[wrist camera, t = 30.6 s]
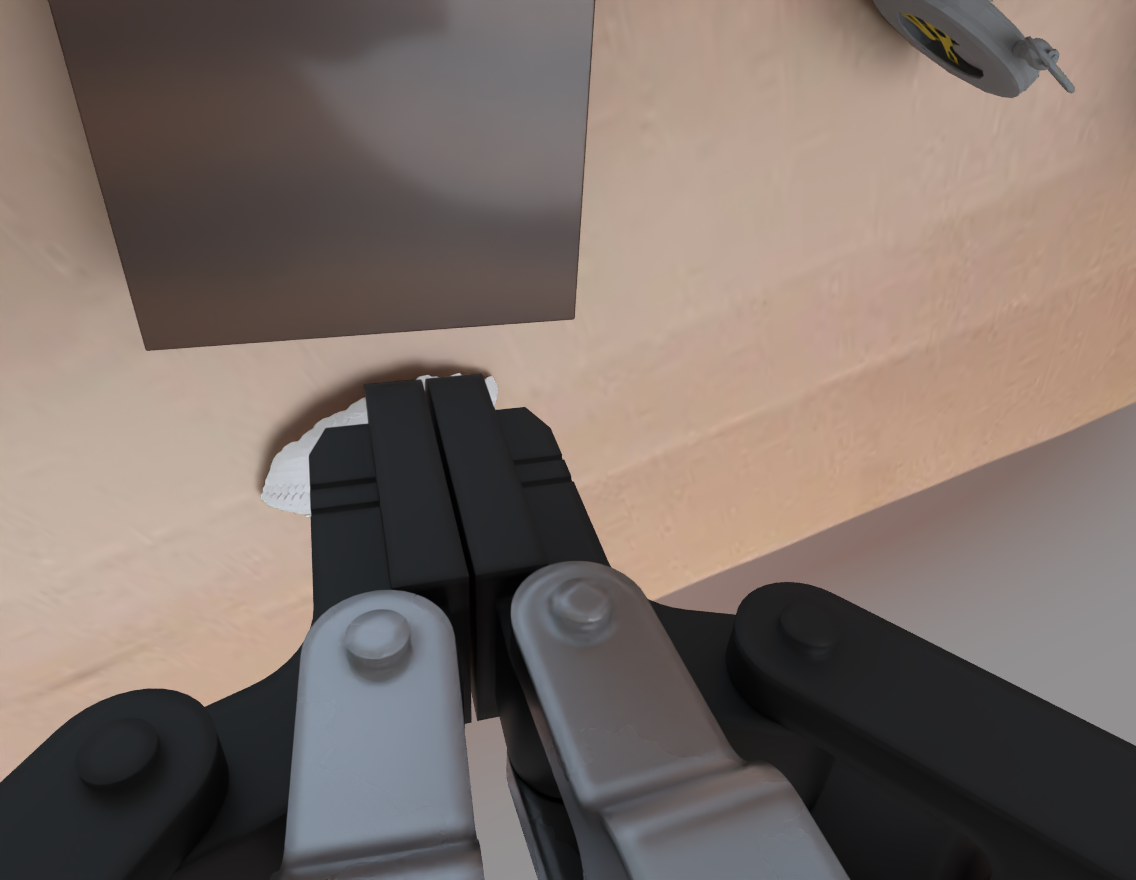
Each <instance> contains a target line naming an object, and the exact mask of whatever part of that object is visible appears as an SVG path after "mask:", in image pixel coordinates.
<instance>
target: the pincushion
mask: <svg viewBox="0 0 1136 880" xmlns="http://www.w3.org/2000/svg"><path fill="white" fill-rule="evenodd" d="M459 375H461V374H460V373H457V374H454V375H451V376H459ZM426 378H437V376H435V377H431V376H430V375H425V376H420V377H418V378H417V379H416V380H418V379H421V380H422V382H423V386H424V390H425V379H426ZM484 380H485V382H486V385H487V388H488V391H489V394H490V397H491V399H492V402H493V405H494V406H495V401H496V399H497V396H498V385H497V384H496V382H494V379H493V377H492V376H490V377H487V378H486V379H485V378H484ZM358 424H368V418H367V409H366V399H365V397H364V398H362V399H360V400H359V401H357V402H355V403H353V404H351V405H350V407H349V408H348V409H347V410H345V411H340V412H338V413H335V414H333V415H332V416H330V417H327V418H323V419H322V420H320V421H319V422H317V423H316V424H315V426H314V427H313V429H311V430H309V431H308V432H306V433H305V434H304V435H303V436H302V437H301V439H300V440H299V441H297V442H291V443H289V444H288V445H286V446H285V447H283V449H282V451H281V452H279V453H277V454H276V456H275V457H274V459H273V461H272V465H271V467H270V469H271V470H270V472H269V474H268V476H267V478H266V480H265V483H266V484H265V486H264V488H263V489H262V490H263V493H262V495H261V496H260V498H261V499H262V500H263V501H266V504H267V505H268V506H269V507H273V508H277V509H281V510H282V511H287V512H293V513H295V514H308V515H305V517H311V509H310V478H309V454H310V452H311V451H312V449H313V447H314V446H315V444H316V443H317V441H318V439H319V438H320V436H321V434H322V433H323V431H324V430H325V428H329V427H339V426H348V425H358Z"/></svg>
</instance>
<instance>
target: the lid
mask: <svg viewBox="0 0 1136 880" xmlns="http://www.w3.org/2000/svg"><path fill="white" fill-rule="evenodd" d="M48 2H49V6H50V9H51V13H52V16H53V20H54V24H55V27H56V31H57V34H58V38H59V41H60V45H61V49H62V52H63V56H64V59H65V63H66V67H67V70H68V74H69V77H70V81H71V84H72V88H73V92H74V95H75V99H76V102H77V106H78V110H79V113H80V117H81V120H82V124H83V127H84V131H85V135H86V138H87V142H88V145H89V149H90V152H91V156H92V160H93V163H94V167H95V170H96V174H97V178H98V181H99V185H100V188H101V192H102V195H103V199H104V203H105V206H106V210H107V213H108V217H109V220H110V224H111V228H112V231H113V235H114V238H115V242H116V246H117V249H118V253H119V256H120V260H121V263H122V267H123V271H124V274H125V278H126V281H127V285H128V289H129V292H130V296H131V299H132V303H133V306H134V310H135V314H136V317H137V321H138V324H139V328H140V331H141V335H142V339H143V342H144V346H145V349H146V350H147V351H150V350H164V349H178V348H191V347H205V346H218V345H232V344H245V343H259V342H273V341H286V340H300V339H313V338H327V337H341V336H354V335H368V334H381V333H395V332H409V331H422V330H436V329H449V328H463V327H477V326H490V325H504V324H517V323H531V322H544V321H558V320H572V319H574V318H575V304H576V289H577V273H578V258H579V242H580V227H581V212H582V196H583V181H584V165H585V150H586V134H587V119H588V104H589V88H590V73H591V57H592V42H593V27H594V11H595V0H48Z"/></svg>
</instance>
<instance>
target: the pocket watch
mask: <svg viewBox="0 0 1136 880" xmlns="http://www.w3.org/2000/svg"><path fill="white" fill-rule="evenodd" d="M873 1H874V3H875V5H876V7H877V8H878V10H879V11H880V13H881V14H882V15H883V17H884V18H885V19H886V20H887V21H888V22H889V23H890V24H891V25H892V26H893V27H894V28H895V29H896V30H897V31H898V32H899V33H900V34H901V35H902V36H903V37H904V38H905V39H906V40H907V41H908V42H909V43H910V44H911V45H912V46H913V47H915V48H916V49H917V50H919V51H920V52H922V53H923V54H924V55H926V56H927V57H928V58H930V59H931V60H933V61H934V62H935V63H937V64H938V65H939V66H941V67H942V68H944V69H945V70H946V71H948V72H949V73H951V74H953V75H955V76H956V77H958V78H960V79H962V80H964V81H966V82H968V83H969V84H971V85H973V86H975V87H977V88H979V89H981V90H983V91H984V92H987V93H990V94H994V95H997V96H1001V97H1008V98H1013V97H1017V96H1018V95H1019V94H1020V93H1021V92H1023V91H1025V90H1026V89H1027V88H1028V87H1029V86H1030V85H1031V84H1032V83H1033V82H1034V81H1035V80H1036V79H1037V78H1038V77H1039V70H1046V69H1048V71H1049V72H1050V73H1051V74H1052V75H1053V76H1054V77H1055V79H1056V80H1057V81H1058V82H1059V83H1060V84H1061V85H1062V87H1063V88H1064V89H1065V90H1066V91H1067V92H1069V93H1073V92H1075V87H1074V86H1073V84H1072V83H1071V81H1070V80H1069V79H1068V78H1067V76H1066V75H1065V74H1064V73H1063V72H1062V70H1061V69H1060V68H1059V67H1058V66H1057V65H1056V62H1057V61H1058V58H1059V52H1058V50H1056V49H1053V48H1052V47H1051V46H1050V45H1049V44H1048V42H1046V41H1045V40H1043V39H1040V38H1035V39H1032V38H1031V37H1030V36H1029V37H1026V38H1025V37H1024V35H1023V34H1022V33H1021V32H1020V31H1019V30H1018V28H1017V27H1016V26H1015V25H1014V24H1013V23H1012V22H1011V21H1010V20H1009V19H1008V18H1007V17H1006V16H1005V15H1004V14H1002V13H1001V12H1000V11H999V10H998V9H997V8H996V7H995V6H994V5H993V4H991V3H990V2H991V1H993V0H873Z"/></svg>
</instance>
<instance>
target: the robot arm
mask: <svg viewBox="0 0 1136 880" xmlns="http://www.w3.org/2000/svg"><path fill="white" fill-rule="evenodd" d="M364 389H365V399H366V409H367V418H368V424H358V425H348V426H339V427H329V428H325V430H324V431H323V433H322V434H321V436H320V438H319V439H318V441H317V443H316V444H315V446H314V447H313V449H312V451H311V452H310V454H309V478H310V509H311V541H312V572H313V603H314V610H313V620H312V624H311V627H310V630H309V632H308V633H307V635H306V638H305V640H304V642H303V643H302V645H301V646H300V648H299V649H298V651H297V652H296V653H295V654H294V655H293V656H292V657H291V658H290V659H289V660H288V661H287V662H286V663H285V664H284V665H283V666H282V667H280V668H279V669H278V670H277V671H275V672H274V673H272V674H271V675H269V676H268V677H266V678H265V679H263V680H261V681H259V682H258V683H256V684H254V685H252V686H250V687H248V688H245V689H243V690H241V691H239V692H237V693H234V694H232V695H230V696H228V697H226V698H223V699H221V700H219V701H217V702H214V703H212V704H210V705H208V706H206V707H204V706H203V705H202V704H201V703H200V702H199V701H197V700H196V699H194V698H192V697H191V696H189V695H187V694H184V693H181V692H178V691H174V690H167V689H142V690H134V691H129V692H126V693H122V694H118V695H115V696H112V697H110V698H107V699H104V700H102V701H100V702H98V703H96V704H94V705H92V706H90V707H88V708H86V709H84V710H83V711H81V712H80V713H78V714H77V715H75V716H74V717H72V718H71V719H70V720H68V721H67V722H66V723H65V724H64V725H62V726H61V727H60V728H59V729H58V730H56V731H55V732H54V733H53V734H52V735H51V736H50V737H49V738H48V739H47V740H46V741H45V742H44V743H42V744H41V745H40V746H39V747H38V748H37V749H36V750H35V751H34V752H33V753H32V754H31V755H30V756H28V757H27V758H26V759H25V760H24V761H23V762H22V763H21V764H20V765H19V766H18V767H17V768H16V769H14V770H13V771H12V772H11V773H10V774H9V775H8V776H7V777H6V778H5V779H4V780H3V781H2V782H0V880H484V871H483V863H482V856H481V850H480V844H479V841H478V839H477V836H476V831H475V823H474V814H473V805H472V796H471V786H470V776H469V767H468V757H467V748H466V738H465V724H466V723H471V693H472V698H473V702H474V707H475V712H476V717H477V721H479V720H484V719H489V718H494V717H499V716H500V720H501V725H502V729H503V733H504V737H505V742H506V746H507V766H506V771H507V781H508V786H509V789H510V792H511V795H512V799H513V802H514V805H515V808H516V811H517V815H518V818H519V820H520V824H521V827H522V831H523V834H524V837H525V840H526V843H527V846H528V850H529V852H530V856H531V859H532V862H533V865H534V869H535V872H536V875H537V878H538V880H1136V746H1135V745H1133V744H1131V743H1129V742H1127V741H1125V740H1123V739H1121V738H1119V737H1117V736H1115V735H1113V734H1111V733H1109V732H1107V731H1105V730H1103V729H1101V728H1099V727H1097V726H1095V725H1093V724H1091V723H1089V722H1087V721H1085V720H1083V719H1081V718H1079V717H1077V716H1075V715H1073V714H1071V713H1069V712H1067V711H1065V710H1063V709H1061V708H1059V707H1057V706H1055V705H1053V704H1051V703H1049V702H1048V701H1046V700H1043V699H1042V698H1040V697H1037V696H1036V695H1034V694H1032V693H1029V692H1028V691H1026V690H1023V689H1022V688H1020V687H1018V686H1016V685H1014V684H1012V683H1010V682H1008V681H1006V680H1004V679H1002V678H1000V677H998V676H996V675H994V674H992V673H990V672H988V671H986V670H984V669H982V668H980V667H978V666H976V665H974V664H972V663H970V662H968V661H966V660H964V659H962V658H960V657H958V656H956V655H954V654H952V653H950V652H948V651H946V650H944V649H942V648H940V647H938V646H936V645H934V644H932V643H930V642H928V641H926V640H925V639H923V638H920V637H919V636H917V635H915V634H913V633H911V632H908V631H907V630H905V629H903V628H901V627H899V626H897V625H895V624H893V623H891V622H889V621H887V620H885V619H883V618H881V617H879V616H877V615H875V614H873V613H871V612H869V611H867V610H865V609H863V608H861V607H859V606H857V605H855V604H853V603H851V602H849V601H847V600H845V599H843V598H841V597H839V596H837V595H835V594H833V593H831V592H829V591H826V590H824V589H822V588H818V587H815V586H812V585H808V584H802V583H794V582H780V583H773V584H769V585H765V586H762V587H760V588H757V589H756V590H754V591H752V592H751V593H749V594H748V595H747V596H746V597H745V598H744V599H743V600H742V602H741V604H740V605H739V607H738V610H737V613H736V615H733V614H723V613H714V612H703V611H694V610H685V609H679V608H672V607H669V606H665V605H661V604H659V603H656V602H654V601H651V600H649V599H647V597H646V596H645V594H644V593H643V591H642V590H641V589H640V587H639V586H638V585H637V584H636V583H635V582H634V581H633V580H631V579H630V578H629V577H627V576H626V575H625V574H623V573H621V572H619V571H617V570H615V569H613V568H611V566H610V564H609V562H608V560H607V558H606V555H605V553H604V551H603V548H602V546H601V544H600V541H599V539H598V537H597V535H596V532H595V530H594V528H593V525H592V523H591V521H590V518H589V516H588V514H587V511H586V509H585V507H584V504H583V502H582V500H581V498H580V495H579V493H578V491H577V488H576V486H575V484H574V482H572V480H571V474H570V472H569V470H568V467H567V465H566V463H565V460H562V454H561V451H560V449H559V447H558V444H557V442H556V440H555V437H554V435H553V433H552V430H551V428H550V427H549V426H547V425H546V424H545V423H544V422H543V421H541V420H540V419H539V418H538V417H537V416H535V415H534V414H533V413H532V412H531V411H529V410H528V409H527V408H526V407H521V408H511V409H501V410H495V408H494V405H493V402H492V399H491V397H490V394H489V391H488V388H487V385H486V382H485V380H484V377H483V375H482V374H470V375H459V376H448V377H437V378H426V379H425V390H424V386H423V382H422V380H421V379H418V380H407V381H396V382H385V383H374V384H364Z"/></svg>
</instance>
